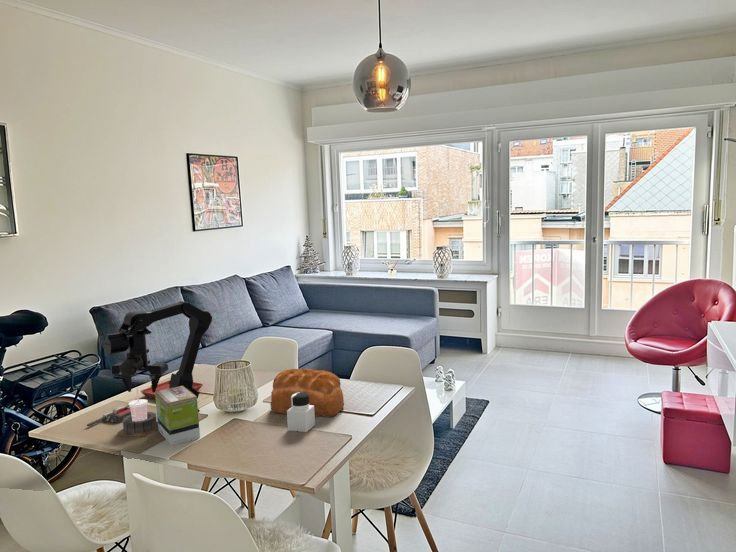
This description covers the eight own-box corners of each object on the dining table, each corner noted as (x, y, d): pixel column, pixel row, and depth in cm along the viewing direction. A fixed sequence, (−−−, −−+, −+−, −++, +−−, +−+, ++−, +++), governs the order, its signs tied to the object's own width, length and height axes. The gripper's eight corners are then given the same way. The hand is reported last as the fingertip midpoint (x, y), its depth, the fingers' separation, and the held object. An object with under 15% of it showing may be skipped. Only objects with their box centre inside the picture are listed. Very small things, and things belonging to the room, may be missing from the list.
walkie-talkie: (128, 409, 219) (85, 428, 201) (127, 398, 219) (84, 416, 200) (145, 412, 216) (104, 431, 197) (145, 400, 215) (102, 419, 197)
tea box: (157, 432, 195) (154, 390, 193) (186, 425, 200) (183, 384, 199) (170, 446, 182) (166, 401, 181) (201, 438, 188) (198, 395, 186)
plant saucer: (170, 404, 223) (169, 396, 223) (139, 398, 232) (139, 390, 232) (204, 391, 239) (204, 383, 238) (174, 385, 248) (174, 378, 247)
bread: (333, 419, 201) (332, 377, 199) (266, 413, 209) (264, 372, 207) (347, 406, 214) (345, 366, 213) (283, 401, 222) (281, 362, 221)
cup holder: (162, 424, 201) (161, 412, 201) (145, 436, 191) (144, 423, 190) (135, 423, 203) (134, 411, 203) (117, 435, 193) (116, 422, 192)
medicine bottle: (315, 425, 196) (313, 391, 195) (306, 432, 190) (304, 398, 188) (296, 423, 199) (295, 389, 197) (287, 430, 192) (285, 396, 190)
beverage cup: (153, 423, 200) (149, 385, 198) (143, 430, 194) (140, 390, 192) (136, 423, 200) (133, 385, 199) (127, 430, 194) (123, 390, 193)
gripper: (98, 354, 190) (103, 399, 192) (149, 354, 186) (153, 400, 188) (118, 346, 201) (122, 388, 203) (167, 346, 197) (171, 389, 199)
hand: (141, 391), depth 198 cm, fingers open, 9 cm apart
